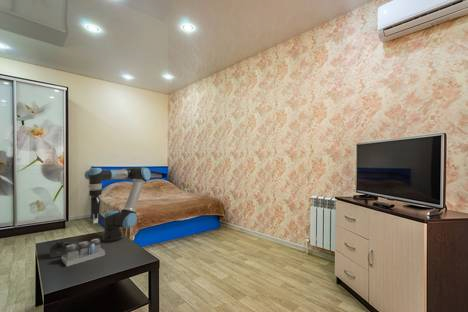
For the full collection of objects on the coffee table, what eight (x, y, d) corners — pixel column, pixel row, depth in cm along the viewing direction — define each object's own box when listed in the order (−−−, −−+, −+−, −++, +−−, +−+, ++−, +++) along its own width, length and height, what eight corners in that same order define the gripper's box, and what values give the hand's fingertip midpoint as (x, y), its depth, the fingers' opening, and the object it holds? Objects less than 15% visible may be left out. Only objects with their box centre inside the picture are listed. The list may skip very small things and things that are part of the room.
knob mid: (87, 250, 156) (87, 240, 156) (89, 252, 152) (89, 242, 152) (77, 253, 152) (77, 242, 152) (80, 255, 148) (80, 244, 148)
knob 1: (75, 253, 151) (75, 242, 151) (77, 255, 147) (77, 245, 147) (65, 256, 146) (65, 245, 147) (67, 258, 143) (67, 247, 143)
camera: (69, 250, 165) (69, 236, 165) (74, 253, 159) (74, 239, 159) (46, 256, 154) (46, 242, 154) (51, 260, 148) (52, 245, 148)
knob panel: (98, 249, 165) (98, 240, 165) (105, 255, 155) (105, 245, 155) (61, 260, 148) (61, 249, 148) (66, 266, 139) (66, 255, 139)
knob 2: (98, 247, 161) (98, 237, 161) (101, 249, 157) (101, 239, 157) (89, 249, 157) (89, 239, 157) (92, 251, 153) (92, 241, 153)
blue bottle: (92, 252, 153) (93, 243, 153) (94, 253, 152) (95, 243, 152) (89, 253, 151) (89, 244, 151) (91, 254, 150) (92, 244, 150)
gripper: (86, 189, 159) (86, 222, 159) (92, 191, 151) (92, 225, 150) (98, 188, 165) (98, 220, 165) (104, 189, 156) (104, 223, 156)
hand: (95, 222), depth 158 cm, fingers closed
